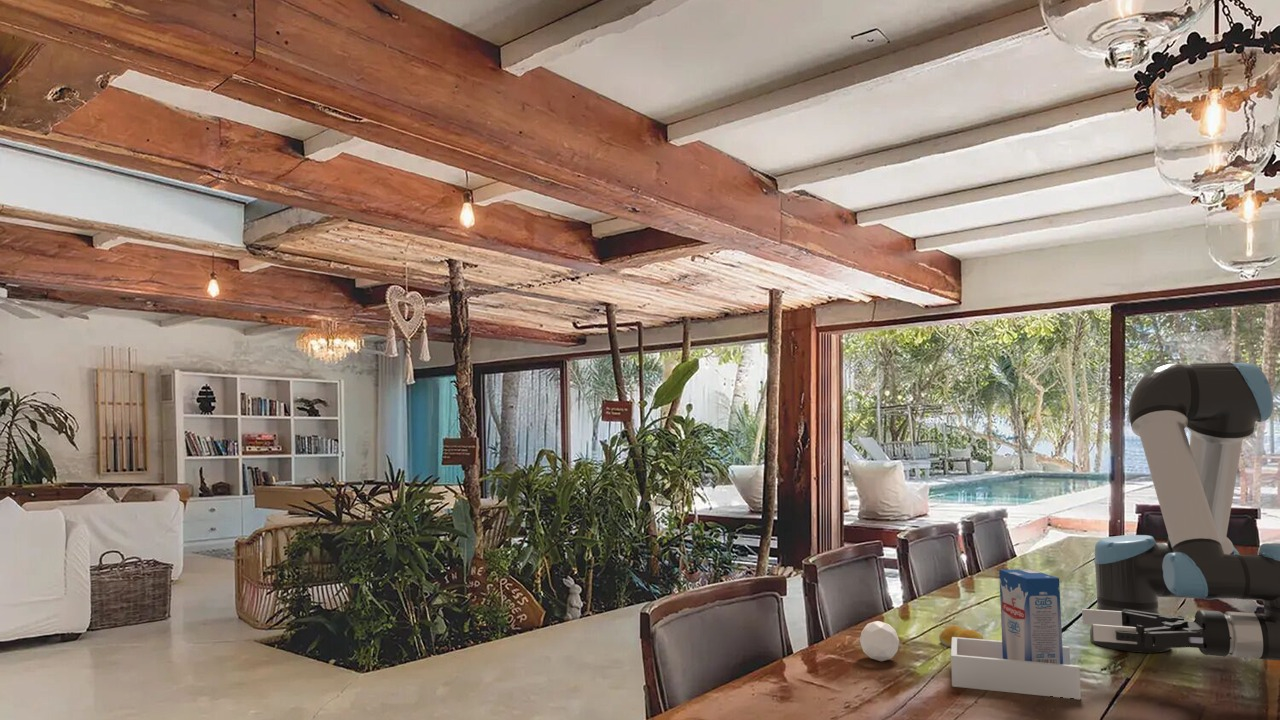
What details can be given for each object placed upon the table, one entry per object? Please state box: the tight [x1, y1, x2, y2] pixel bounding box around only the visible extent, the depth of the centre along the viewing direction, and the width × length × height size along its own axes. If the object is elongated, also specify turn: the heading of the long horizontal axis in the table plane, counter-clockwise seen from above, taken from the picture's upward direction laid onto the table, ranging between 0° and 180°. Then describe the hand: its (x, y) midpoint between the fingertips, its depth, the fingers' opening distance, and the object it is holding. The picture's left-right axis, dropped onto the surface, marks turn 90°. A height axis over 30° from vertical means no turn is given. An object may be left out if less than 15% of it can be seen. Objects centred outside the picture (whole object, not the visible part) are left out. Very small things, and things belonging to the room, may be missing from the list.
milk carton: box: [998, 568, 1063, 664], centre depth 153 cm, size 10×6×20 cm, turn 4°
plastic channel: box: [950, 637, 1082, 700], centre depth 154 cm, size 21×15×6 cm
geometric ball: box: [859, 620, 900, 662], centre depth 169 cm, size 8×8×8 cm
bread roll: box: [938, 625, 984, 648], centre depth 181 cm, size 8×9×4 cm
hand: (1087, 624), depth 150 cm, fingers open, 13 cm apart
